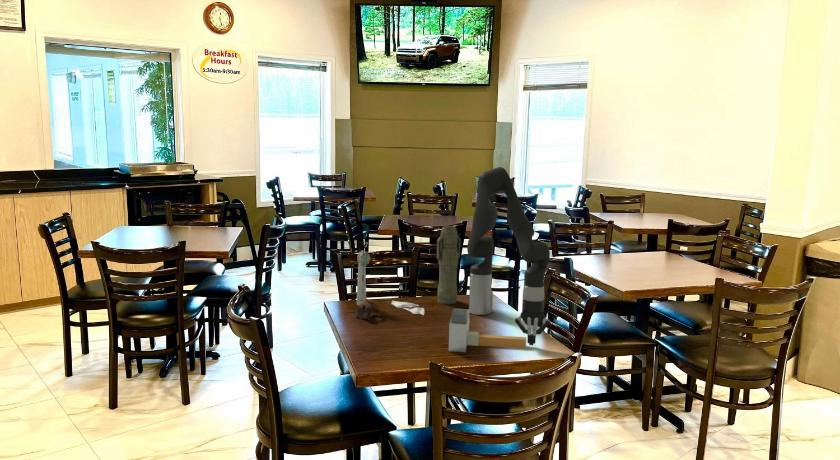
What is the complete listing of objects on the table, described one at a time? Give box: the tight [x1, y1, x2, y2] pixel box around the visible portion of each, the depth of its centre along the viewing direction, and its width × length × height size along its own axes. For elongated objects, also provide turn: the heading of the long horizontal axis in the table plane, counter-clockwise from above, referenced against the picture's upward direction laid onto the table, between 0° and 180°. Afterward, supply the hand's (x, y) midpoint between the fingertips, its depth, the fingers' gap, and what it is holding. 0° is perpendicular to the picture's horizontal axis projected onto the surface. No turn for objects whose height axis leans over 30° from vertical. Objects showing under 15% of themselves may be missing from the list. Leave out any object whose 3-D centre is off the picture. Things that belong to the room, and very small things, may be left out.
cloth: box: [391, 300, 425, 316], centre depth 276 cm, size 26×14×2 cm, turn 23°
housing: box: [448, 308, 471, 353], centre depth 229 cm, size 6×20×13 cm, turn 173°
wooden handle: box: [467, 330, 527, 349], centre depth 228 cm, size 23×4×4 cm, turn 83°
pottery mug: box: [355, 298, 381, 320], centre depth 260 cm, size 12×9×8 cm
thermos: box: [436, 225, 461, 305], centre depth 285 cm, size 9×12×35 cm
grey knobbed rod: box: [356, 250, 371, 307], centre depth 276 cm, size 5×7×25 cm
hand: (531, 344), depth 227 cm, fingers closed
